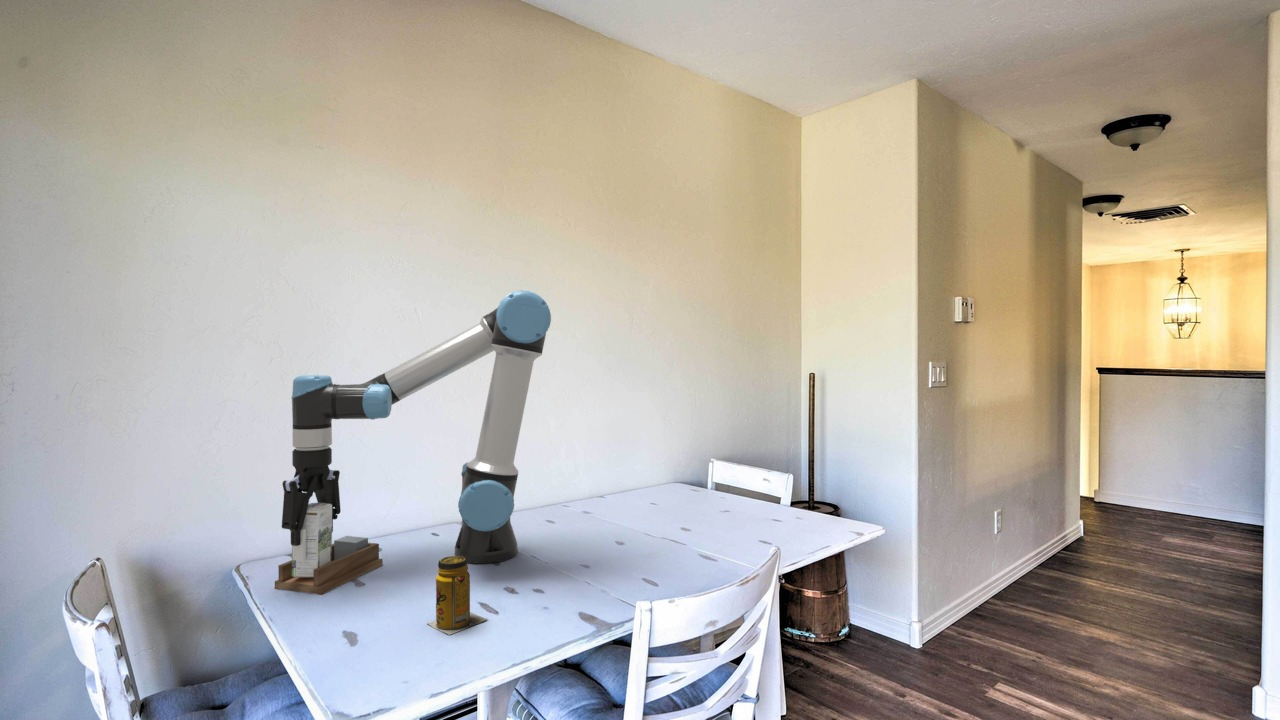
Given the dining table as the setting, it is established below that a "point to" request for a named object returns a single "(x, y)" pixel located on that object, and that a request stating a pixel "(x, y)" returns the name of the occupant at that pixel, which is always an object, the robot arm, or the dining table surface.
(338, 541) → the slate block
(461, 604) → the condiment
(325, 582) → the walnut tray
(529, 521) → the dining table surface
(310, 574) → the syrup box
